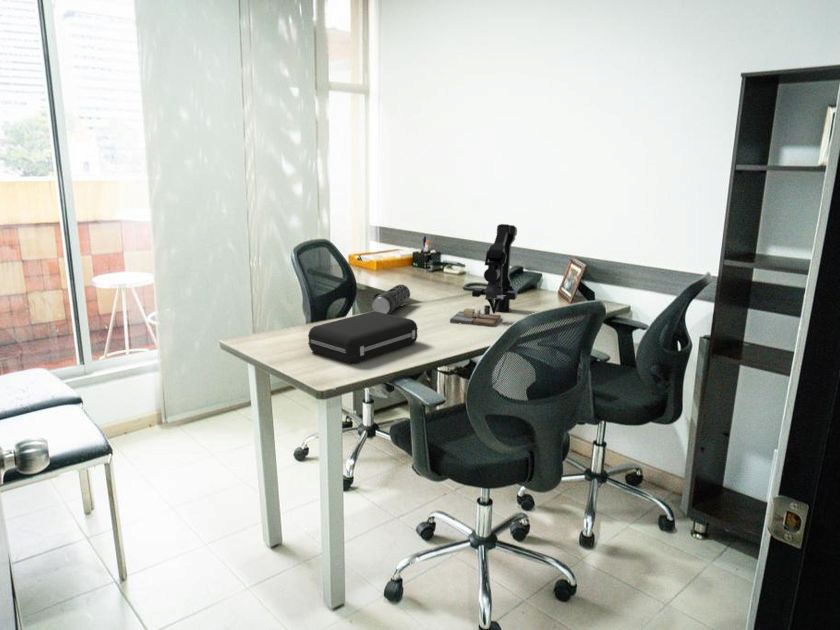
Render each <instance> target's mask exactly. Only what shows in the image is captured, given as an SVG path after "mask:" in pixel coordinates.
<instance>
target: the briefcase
mask: <svg viewBox="0 0 840 630" xmlns="http://www.w3.org/2000/svg"><path fill="white" fill-rule="evenodd" d="M418 329H419V328H418V325H417V323H416V321H414V320H413V319H411V318H405V317H402V316H399V315H398V316H397V315H392V314H385V313H381V312H376V311H374V310H372V311H368V312H364V313H361V314H357V315H352V316H348V317H345V318H342V319H338V320H333V321H330V322H327V323H321V324H319V325H314V326H313V327H311V328H310V329H309V332H308V335H307V336H308V344H307V345H308V347H309V349H310V350H311V351H312V352H313V353H317V354H320V355H322V356H326V357H329V358H332V359H336V360H338V361H342V362H346V363H349V364H352V363H354V364H358V363H361V362H363V360H364V361H367V360H368V359H369V358H370V359H372V357H373V358H376V357H378V355H379V356H381V354H382V355H385V354H387V353H389V352H393V351H396V350H399V349H402V348H404V347H407V346H411V345H413V344H415V342H416V341H417V339H418ZM384 353H385V354H384ZM375 356H376V357H375ZM366 359H367V360H366ZM360 361H361V362H360ZM357 362H358V363H357Z"/></svg>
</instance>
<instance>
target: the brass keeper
mask: <svg viewBox="0 0 840 630" xmlns="http://www.w3.org/2000/svg"><path fill="white" fill-rule="evenodd" d="M463 312H464V314H463V317H467V318H473V312H476V313H477V319H478V318H479V313H482V312H481V309H478V310H477V311H476V309H475V308H467V307H466V308H464V310H463Z"/></svg>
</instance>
